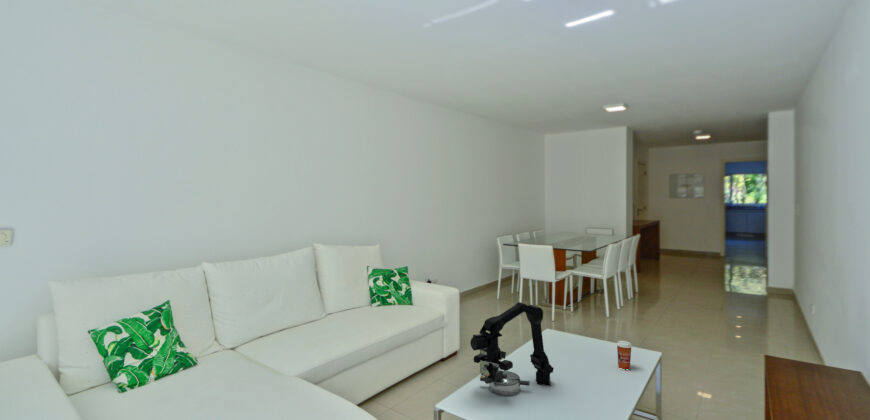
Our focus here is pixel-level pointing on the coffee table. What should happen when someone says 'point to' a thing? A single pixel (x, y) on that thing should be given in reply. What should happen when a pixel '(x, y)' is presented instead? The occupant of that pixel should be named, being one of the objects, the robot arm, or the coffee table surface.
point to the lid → (503, 378)
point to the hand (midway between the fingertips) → (493, 379)
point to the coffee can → (482, 363)
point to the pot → (505, 388)
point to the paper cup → (624, 354)
